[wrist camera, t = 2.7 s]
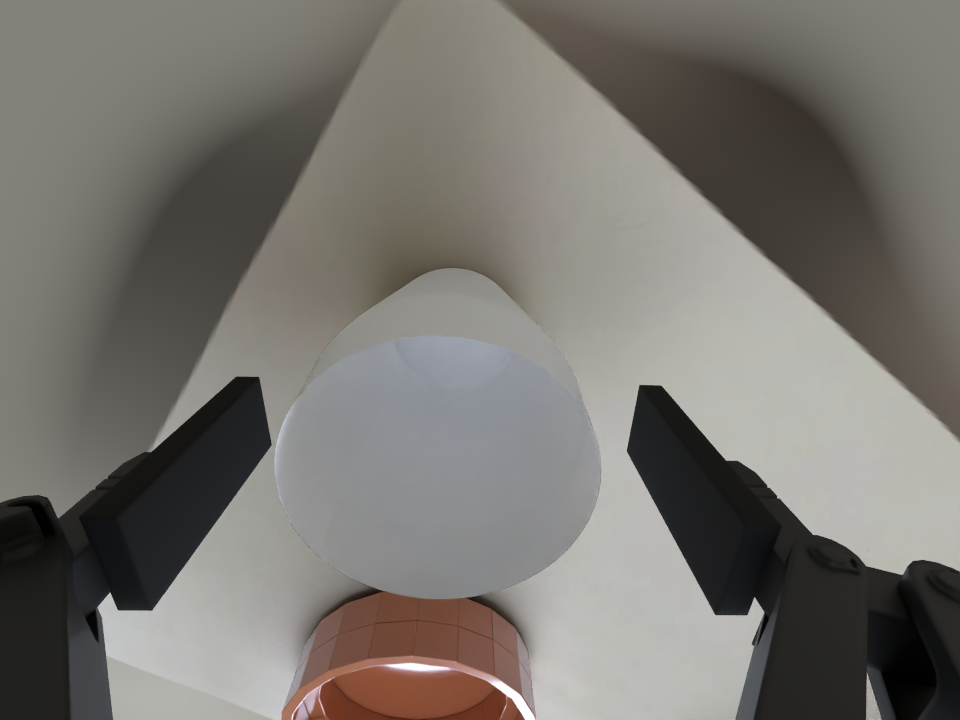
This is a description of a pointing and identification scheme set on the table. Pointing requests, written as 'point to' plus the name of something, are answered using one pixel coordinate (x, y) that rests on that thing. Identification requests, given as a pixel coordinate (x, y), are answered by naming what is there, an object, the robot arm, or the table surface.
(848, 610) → the robot arm
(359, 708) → the bowl
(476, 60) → the table surface
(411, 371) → the cup
